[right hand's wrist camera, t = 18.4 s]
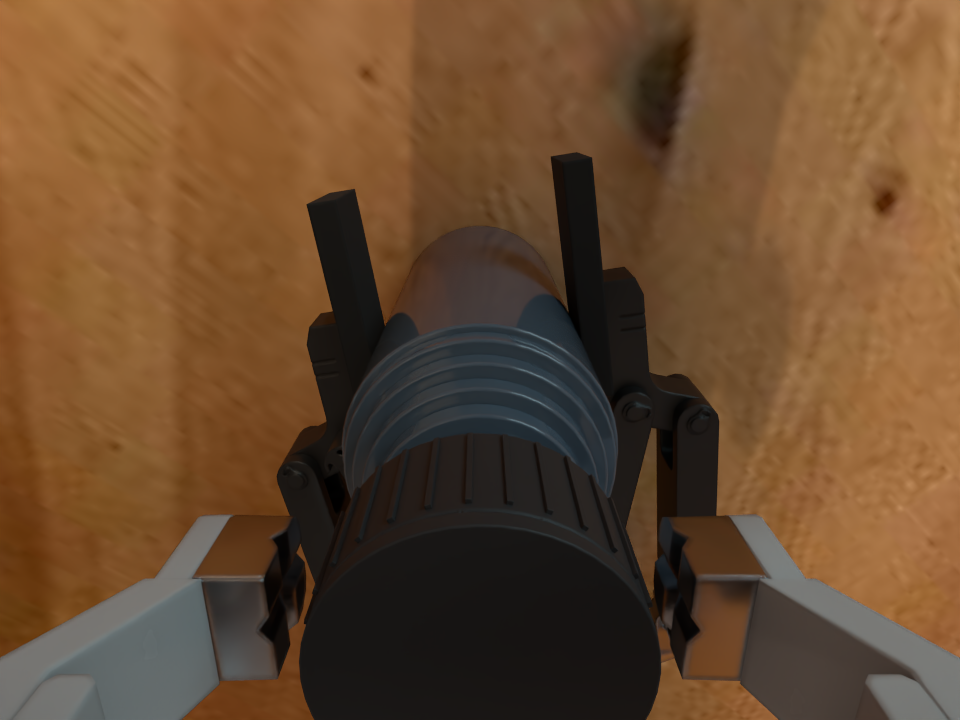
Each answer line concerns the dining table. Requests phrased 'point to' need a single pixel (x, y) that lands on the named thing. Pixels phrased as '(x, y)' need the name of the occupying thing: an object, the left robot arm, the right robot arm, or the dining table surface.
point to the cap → (480, 594)
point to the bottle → (479, 362)
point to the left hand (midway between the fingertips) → (450, 178)
